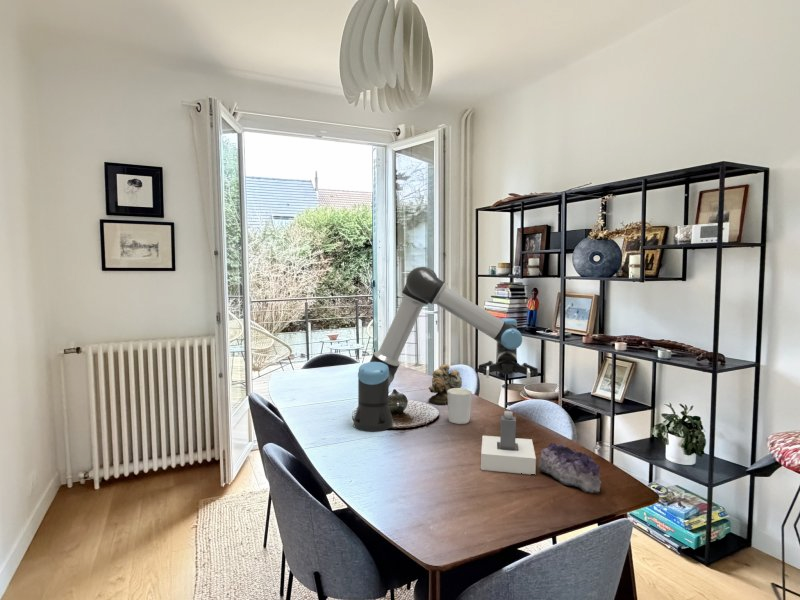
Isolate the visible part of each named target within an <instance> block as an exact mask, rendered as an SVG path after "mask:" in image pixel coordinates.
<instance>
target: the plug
mask: <svg viewBox="0 0 800 600" xmlns="http://www.w3.org/2000/svg"><path fill="white" fill-rule="evenodd" d="M503 412H504V413H503V415H501V416H500V434H499V435H500V436H499V437H500V450H512V451H515V438H516V434H517V432H516V430H517V417H516V416H514V415H513V414H514V412H513V411H510V410H504V411H503Z"/></svg>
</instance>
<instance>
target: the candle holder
mask: <svg viewBox="0 0 800 600" xmlns="http://www.w3.org/2000/svg"><path fill="white" fill-rule="evenodd" d="M447 394H448V405H447V413H448V415H447V416H448V422H450V423H452V424H458V425H464V424H468V423H470V419H471V410H472V409H471V406H472V395H473V391H472V390H470V389H469V388H464V387H461V388H452V389H449V390H447Z"/></svg>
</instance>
